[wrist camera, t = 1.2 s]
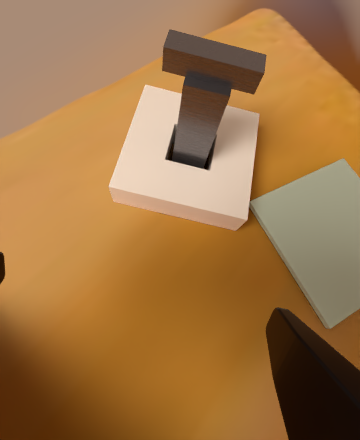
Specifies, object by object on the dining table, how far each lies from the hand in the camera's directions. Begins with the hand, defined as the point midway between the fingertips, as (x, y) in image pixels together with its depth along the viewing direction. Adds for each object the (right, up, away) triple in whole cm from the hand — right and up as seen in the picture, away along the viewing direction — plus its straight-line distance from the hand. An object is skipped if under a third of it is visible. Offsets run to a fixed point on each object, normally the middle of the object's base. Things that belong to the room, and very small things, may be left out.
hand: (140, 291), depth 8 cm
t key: (+2, +8, +18) cm, 19 cm away
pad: (+17, +1, +17) cm, 24 cm away
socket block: (+2, +8, +18) cm, 19 cm away
